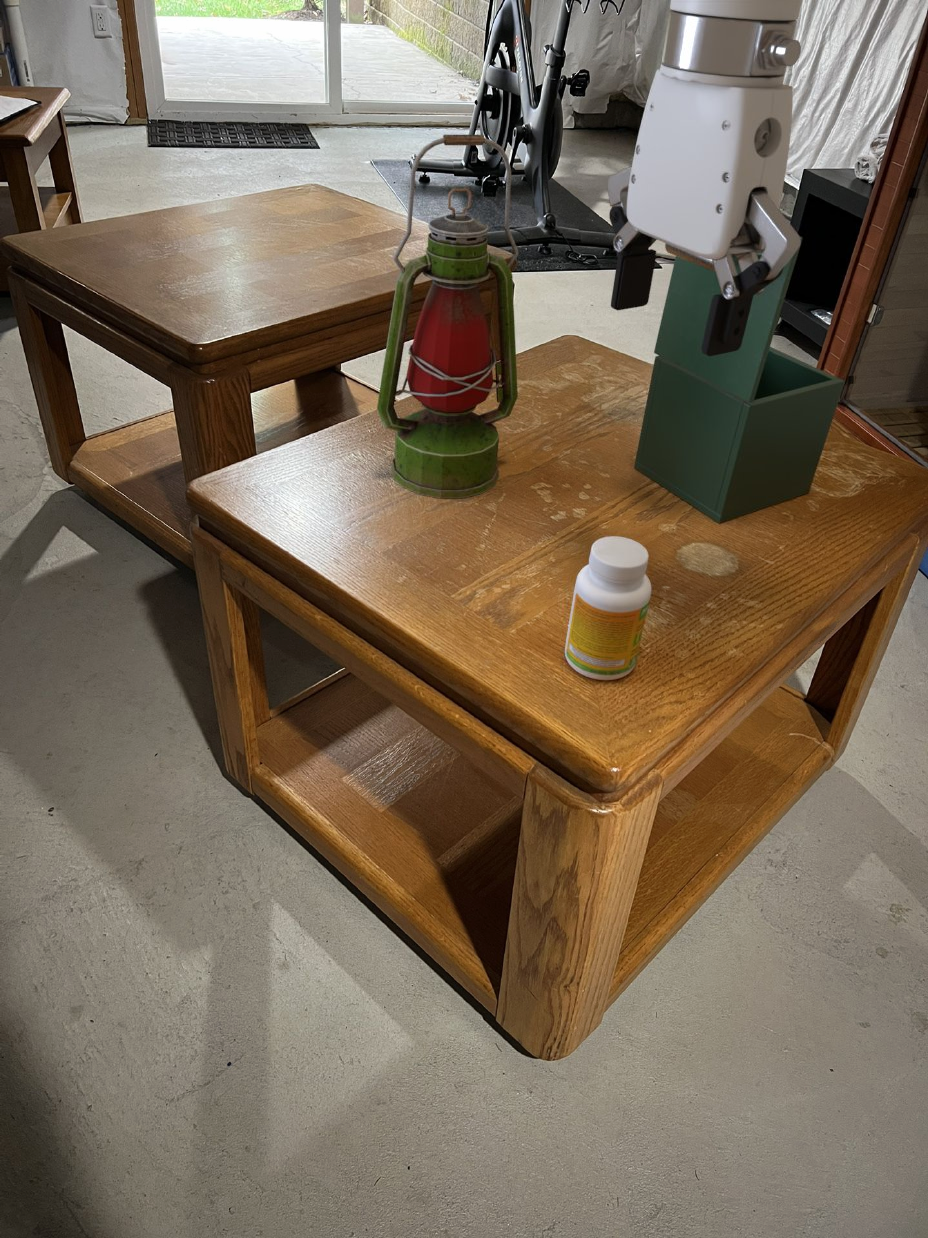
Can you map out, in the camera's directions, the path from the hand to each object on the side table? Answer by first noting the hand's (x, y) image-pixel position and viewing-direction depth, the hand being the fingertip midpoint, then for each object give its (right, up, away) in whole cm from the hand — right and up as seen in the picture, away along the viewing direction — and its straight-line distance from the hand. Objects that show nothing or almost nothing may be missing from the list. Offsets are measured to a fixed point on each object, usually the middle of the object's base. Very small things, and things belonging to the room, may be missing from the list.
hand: (672, 328), depth 67 cm
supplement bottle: (-5, -24, +3) cm, 25 cm away
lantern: (-17, -6, +25) cm, 31 cm away
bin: (+11, -7, +27) cm, 30 cm away
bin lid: (+7, +6, +13) cm, 16 cm away
